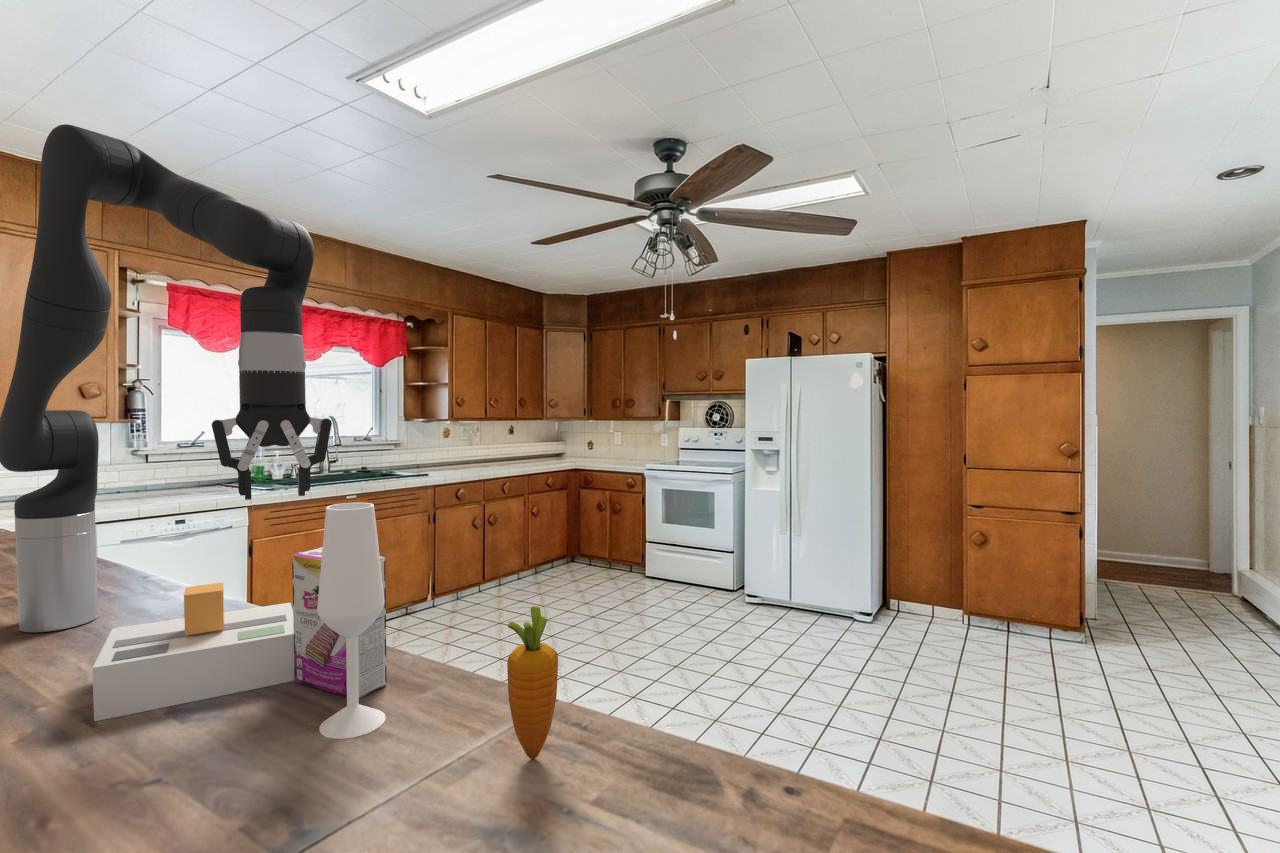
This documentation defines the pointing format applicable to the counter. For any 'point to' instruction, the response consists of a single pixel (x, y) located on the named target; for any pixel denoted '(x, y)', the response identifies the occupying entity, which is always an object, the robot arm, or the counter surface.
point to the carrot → (532, 684)
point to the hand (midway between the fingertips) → (275, 496)
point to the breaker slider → (204, 608)
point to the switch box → (192, 661)
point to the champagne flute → (350, 602)
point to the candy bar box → (332, 636)
